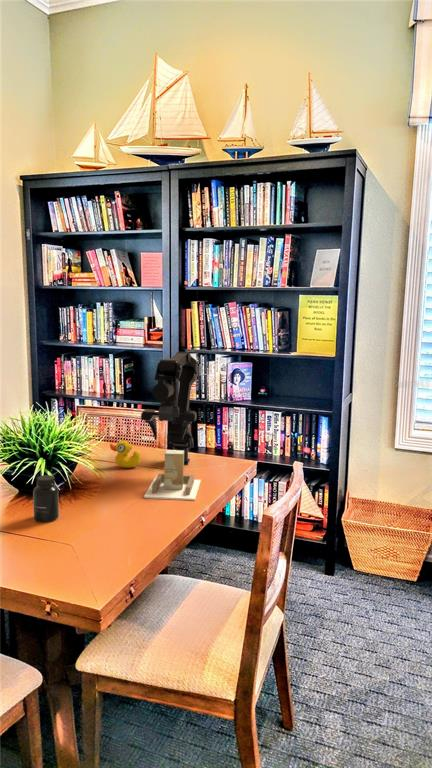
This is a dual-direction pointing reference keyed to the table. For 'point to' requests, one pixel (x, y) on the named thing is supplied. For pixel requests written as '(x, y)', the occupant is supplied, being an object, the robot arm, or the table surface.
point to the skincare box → (173, 469)
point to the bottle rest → (186, 493)
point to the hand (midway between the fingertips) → (168, 439)
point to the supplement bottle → (46, 499)
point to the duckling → (125, 455)
